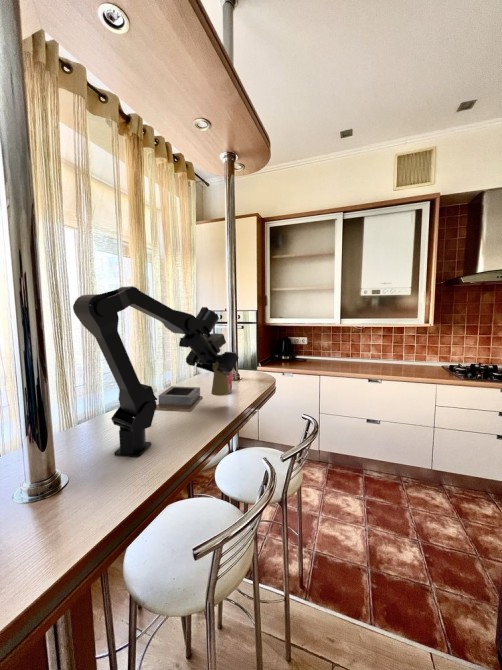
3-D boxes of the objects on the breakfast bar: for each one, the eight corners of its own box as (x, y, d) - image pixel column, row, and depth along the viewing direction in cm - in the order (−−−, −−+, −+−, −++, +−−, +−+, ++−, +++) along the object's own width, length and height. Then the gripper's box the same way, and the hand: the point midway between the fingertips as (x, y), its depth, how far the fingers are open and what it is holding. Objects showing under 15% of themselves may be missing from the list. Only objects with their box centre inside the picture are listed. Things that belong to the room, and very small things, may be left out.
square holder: (190, 411, 95) (189, 399, 95) (153, 409, 97) (153, 397, 96) (202, 398, 109) (202, 387, 109) (170, 396, 111) (169, 386, 110)
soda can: (213, 390, 118) (213, 362, 117) (230, 389, 121) (229, 361, 119) (216, 396, 112) (216, 366, 110) (234, 394, 114) (233, 365, 113)
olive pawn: (230, 390, 100) (230, 360, 99) (227, 396, 94) (227, 363, 93) (213, 390, 101) (213, 359, 100) (209, 395, 95) (209, 363, 94)
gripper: (235, 327, 87) (254, 357, 97) (191, 324, 97) (213, 352, 107) (218, 356, 81) (240, 385, 91) (174, 350, 91) (198, 376, 101)
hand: (222, 373), depth 98 cm, fingers closed on olive pawn, 5 cm apart
